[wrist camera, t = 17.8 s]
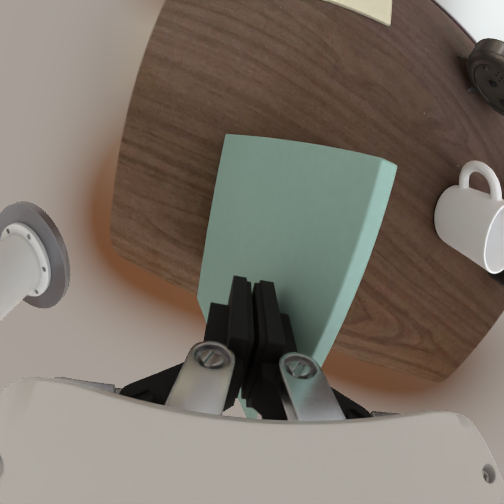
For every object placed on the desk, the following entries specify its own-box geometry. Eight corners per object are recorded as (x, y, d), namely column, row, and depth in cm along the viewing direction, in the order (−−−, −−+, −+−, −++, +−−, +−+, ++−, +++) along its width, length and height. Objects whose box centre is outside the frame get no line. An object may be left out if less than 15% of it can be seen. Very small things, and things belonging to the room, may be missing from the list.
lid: (398, 165, 7) (382, 157, 6) (275, 445, 12) (262, 449, 12) (235, 135, 19) (225, 133, 19) (205, 298, 24) (196, 298, 24)
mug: (429, 157, 26) (488, 169, 17) (470, 155, 26) (524, 167, 16) (430, 247, 31) (478, 282, 21) (469, 236, 31) (515, 264, 21)
